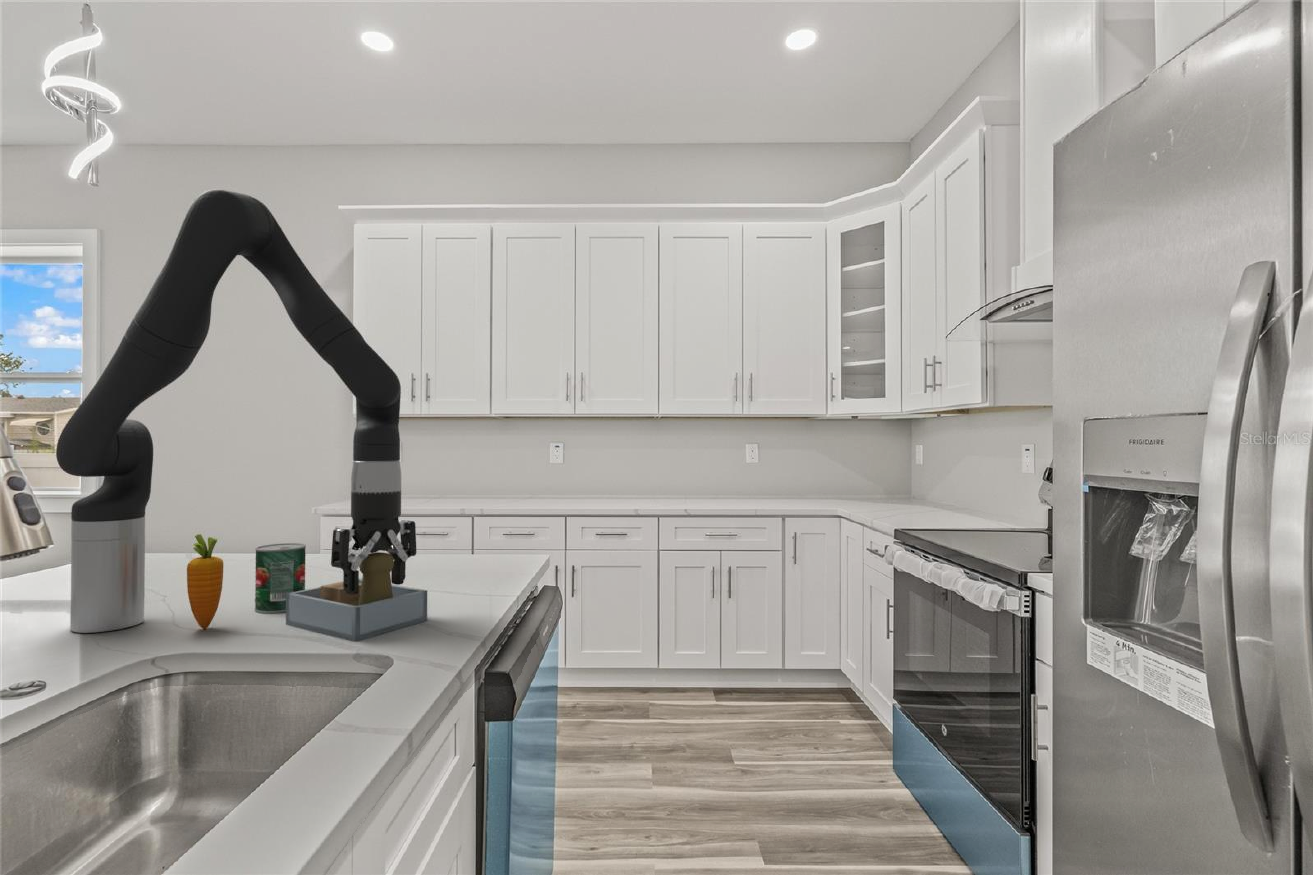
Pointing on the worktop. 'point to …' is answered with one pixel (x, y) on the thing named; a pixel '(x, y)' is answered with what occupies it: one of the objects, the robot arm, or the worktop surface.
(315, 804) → the worktop surface
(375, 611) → the tote
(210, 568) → the carrot
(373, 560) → the cork
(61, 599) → the worktop surface
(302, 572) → the canned tomato
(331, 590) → the walnut cube
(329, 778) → the worktop surface
